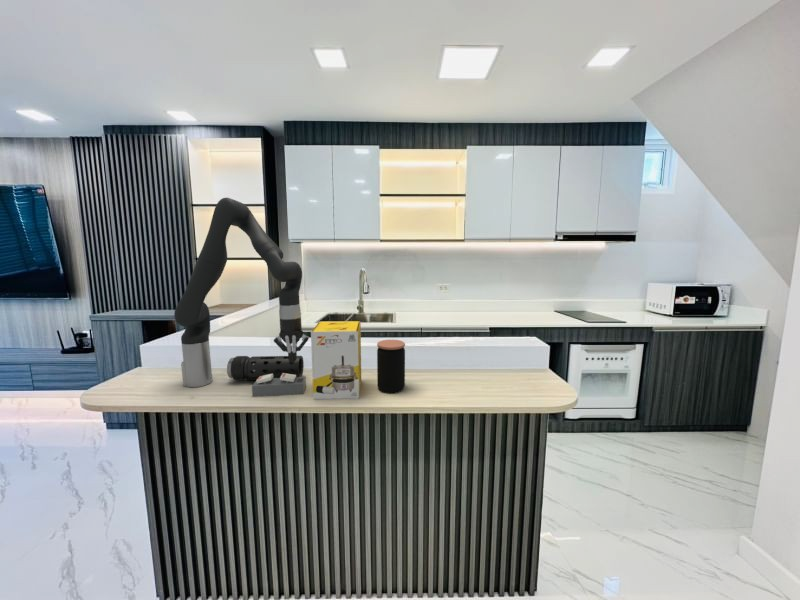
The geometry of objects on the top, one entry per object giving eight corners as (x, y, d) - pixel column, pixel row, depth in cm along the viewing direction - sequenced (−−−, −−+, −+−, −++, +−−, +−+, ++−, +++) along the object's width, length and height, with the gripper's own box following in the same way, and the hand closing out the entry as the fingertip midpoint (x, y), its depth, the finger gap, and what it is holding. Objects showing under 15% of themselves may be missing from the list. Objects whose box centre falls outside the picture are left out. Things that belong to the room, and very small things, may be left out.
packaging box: (313, 399, 118) (310, 331, 114) (321, 381, 134) (319, 321, 130) (359, 398, 119) (357, 331, 115) (361, 380, 135) (360, 321, 131)
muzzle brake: (298, 384, 132) (297, 359, 131) (226, 385, 130) (224, 360, 129) (304, 375, 141) (303, 351, 140) (237, 376, 140) (235, 353, 138)
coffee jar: (409, 385, 131) (409, 341, 128) (397, 396, 121) (397, 348, 118) (385, 380, 135) (385, 338, 132) (372, 390, 126) (371, 345, 123)
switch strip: (252, 396, 120) (251, 385, 120) (258, 388, 127) (257, 377, 127) (303, 394, 123) (302, 382, 122) (306, 386, 130) (305, 375, 129)
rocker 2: (279, 379, 122) (280, 376, 122) (282, 375, 126) (282, 372, 126) (293, 382, 123) (294, 378, 123) (295, 377, 127) (296, 374, 127)
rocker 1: (257, 383, 121) (256, 380, 121) (260, 379, 125) (259, 376, 125) (270, 380, 122) (270, 377, 122) (273, 376, 126) (272, 373, 126)
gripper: (268, 319, 117) (272, 366, 119) (307, 317, 118) (309, 364, 121) (274, 315, 124) (277, 359, 127) (310, 313, 126) (312, 357, 128)
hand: (293, 361), depth 124 cm, fingers closed
